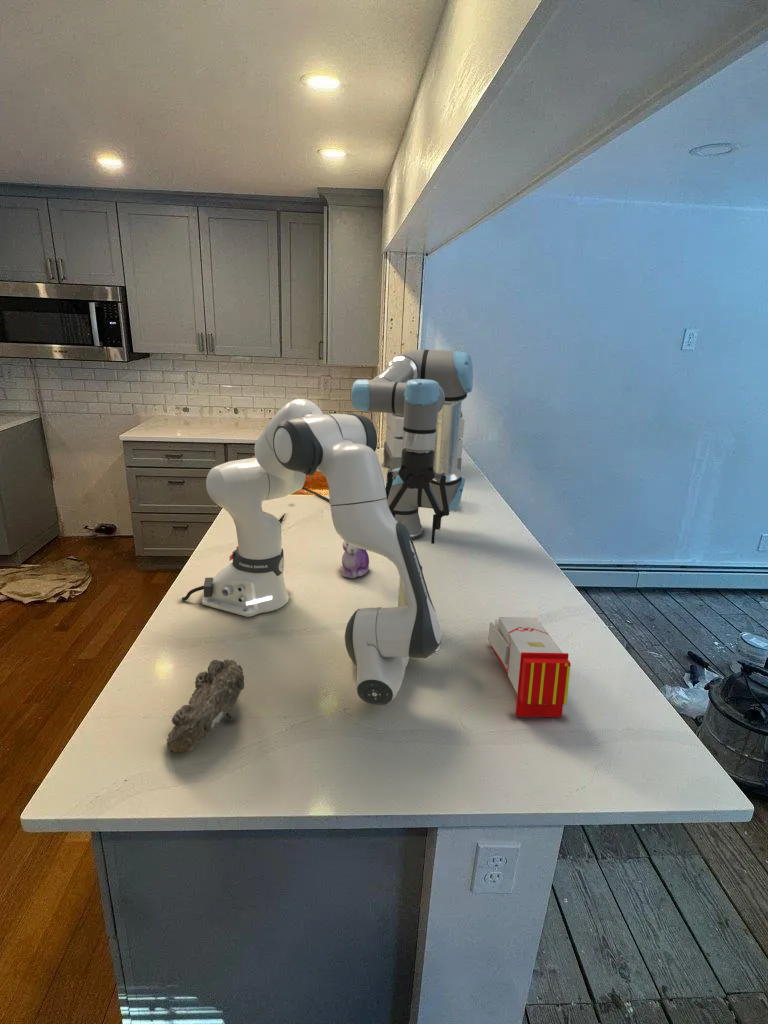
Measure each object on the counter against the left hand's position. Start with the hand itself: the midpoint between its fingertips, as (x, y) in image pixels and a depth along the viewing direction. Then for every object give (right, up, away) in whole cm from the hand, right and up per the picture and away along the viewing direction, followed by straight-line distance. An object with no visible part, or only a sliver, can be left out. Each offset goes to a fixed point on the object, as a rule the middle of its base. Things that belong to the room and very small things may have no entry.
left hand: (401, 616), depth 134 cm
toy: (+26, -11, -10) cm, 30 cm away
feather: (-41, +23, +76) cm, 90 cm away
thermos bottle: (+2, -3, +10) cm, 11 cm away
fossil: (-37, -14, -26) cm, 48 cm away
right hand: (+3, +18, +3) cm, 18 cm away
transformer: (+13, +44, +141) cm, 148 cm away
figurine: (-13, +7, +35) cm, 38 cm away
